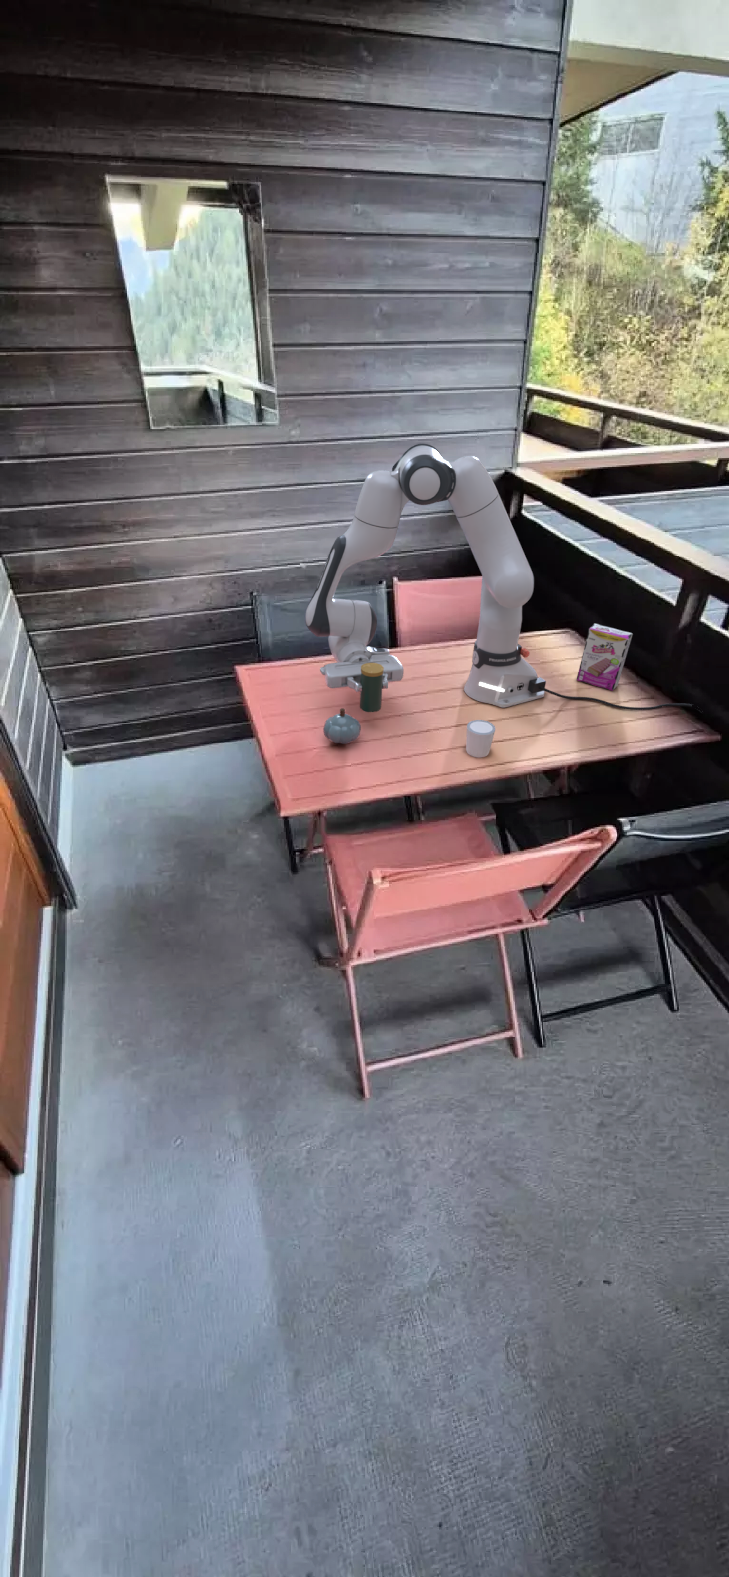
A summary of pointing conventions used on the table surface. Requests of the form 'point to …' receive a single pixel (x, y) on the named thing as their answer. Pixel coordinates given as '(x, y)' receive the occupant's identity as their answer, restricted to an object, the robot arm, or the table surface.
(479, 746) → the white cup
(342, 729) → the pumpkin
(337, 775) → the table surface
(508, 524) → the robot arm
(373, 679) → the tea tin
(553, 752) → the table surface
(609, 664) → the candy bar box
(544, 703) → the table surface
